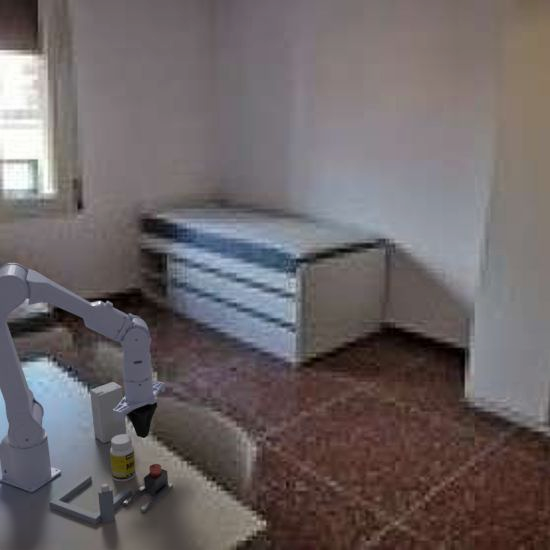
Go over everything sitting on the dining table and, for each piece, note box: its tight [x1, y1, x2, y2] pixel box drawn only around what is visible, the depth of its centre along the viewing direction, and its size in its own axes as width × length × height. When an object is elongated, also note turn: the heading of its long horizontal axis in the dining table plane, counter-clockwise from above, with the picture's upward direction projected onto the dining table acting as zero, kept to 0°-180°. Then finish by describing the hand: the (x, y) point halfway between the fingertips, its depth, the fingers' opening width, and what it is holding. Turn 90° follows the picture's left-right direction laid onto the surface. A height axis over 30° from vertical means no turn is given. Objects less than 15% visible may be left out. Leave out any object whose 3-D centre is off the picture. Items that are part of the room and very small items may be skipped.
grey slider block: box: [143, 463, 169, 497], centre depth 132 cm, size 3×4×5 cm, turn 153°
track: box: [122, 482, 174, 514], centre depth 130 cm, size 5×9×1 cm, turn 153°
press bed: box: [48, 474, 133, 525], centre depth 128 cm, size 13×10×7 cm
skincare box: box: [89, 381, 127, 444], centre depth 151 cm, size 6×4×12 cm
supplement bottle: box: [109, 433, 136, 483], centre depth 136 cm, size 5×5×8 cm
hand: (142, 435), depth 141 cm, fingers closed
